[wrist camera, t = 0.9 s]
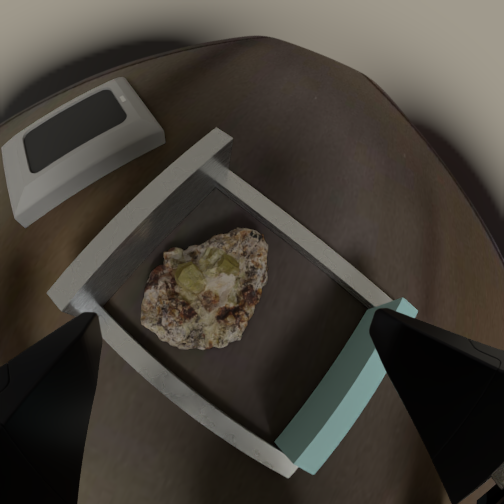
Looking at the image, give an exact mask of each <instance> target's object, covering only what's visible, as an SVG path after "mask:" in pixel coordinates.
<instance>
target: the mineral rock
mask: <svg viewBox="0 0 504 504" xmlns="http://www.w3.org/2000/svg"><path fill="white" fill-rule="evenodd" d="M267 252H268V244H266V241H265V239H264V234H260V233H258V232H257V231H256V230H252V229H248V228H239V227H237V228H236V229H234V230H232V231H230V232H228V233H226V234H218V235H214V236H213V237H212V238H211V239H210V240H207V241H206V242H204V243H203V244H201V245H193V246H189V247H188V249H186V250H184V251H183V249H182V248H177V247H176V248H175V247H171V249H169V250H168V252H164V255H163V257H164V261H163V265H158V266H157V267H156V268H155V269H154V270H152V272H151V273H150V277H149V279H148V281H147V284H146V287H145V293H144V298H143V301H142V309H141V323H142V325H144V326H145V327H146V328H148V329H150V330H151V331H152V332H154V333H156V334H157V336H158V338H159V339H160V340H161V341H165V342H168V343H169V344H170V345H171V346H174V347H178V348H179V349H186V350H188V349H190V348H198V349H202V350H205V349H211V348H213V347H218V348H223V347H226V346H227V345H228V343H229V342H233V341H235V340H240V339H241V338H242V333H243V332H244V329H245V328H246V326H247V325H248V320H250V318H251V317H252V315H253V314H254V309H255V305H256V304H257V303H258V302H259V298H260V297H261V294H262V287H263V286H264V285H266V284H267V278H268V275H267V270H268V269H269V268H268V267H267V265H266V263H267V258H266V257H267Z"/></svg>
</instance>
